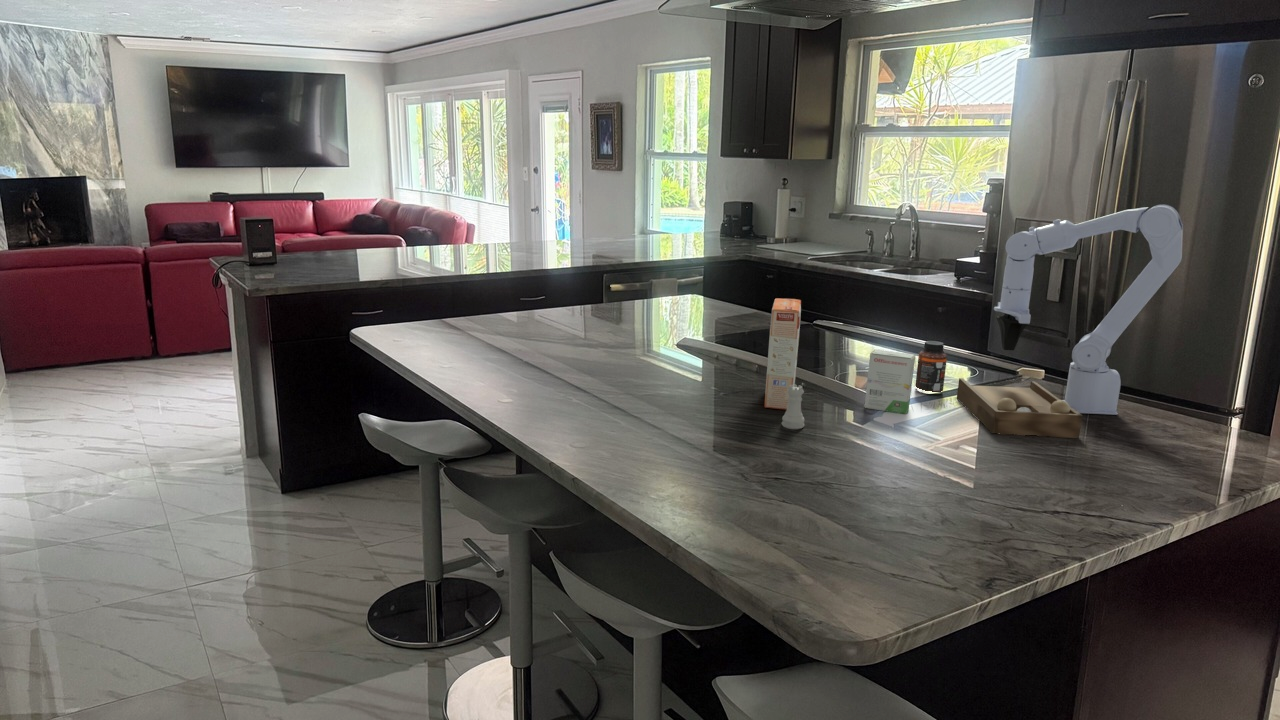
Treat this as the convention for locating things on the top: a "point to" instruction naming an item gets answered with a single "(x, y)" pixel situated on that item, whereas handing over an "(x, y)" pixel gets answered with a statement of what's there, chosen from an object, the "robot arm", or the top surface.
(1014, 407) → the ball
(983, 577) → the top surface
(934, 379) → the supplement bottle
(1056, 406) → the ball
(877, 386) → the ink box
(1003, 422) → the board
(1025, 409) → the steel ball
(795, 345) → the cracker box
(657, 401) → the top surface
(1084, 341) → the robot arm
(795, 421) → the rook chess piece
